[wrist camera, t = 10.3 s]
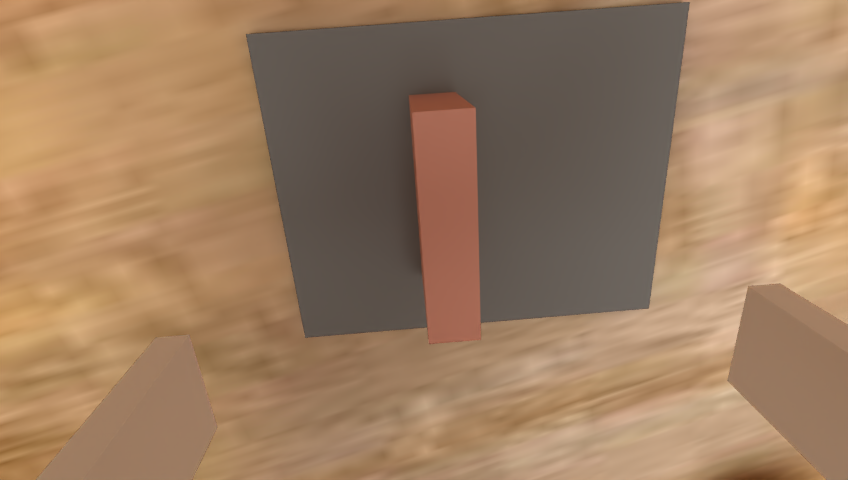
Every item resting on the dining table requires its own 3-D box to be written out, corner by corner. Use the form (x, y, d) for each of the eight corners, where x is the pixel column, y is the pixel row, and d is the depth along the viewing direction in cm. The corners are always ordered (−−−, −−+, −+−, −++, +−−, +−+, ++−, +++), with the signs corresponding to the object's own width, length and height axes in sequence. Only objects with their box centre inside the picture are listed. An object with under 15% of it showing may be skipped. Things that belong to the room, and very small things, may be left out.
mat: (307, 331, 27) (305, 337, 27) (249, 34, 21) (245, 34, 21) (643, 303, 28) (648, 308, 27) (682, 3, 22) (689, 1, 21)
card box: (421, 274, 26) (428, 344, 20) (408, 95, 22) (412, 112, 16) (461, 271, 26) (481, 339, 20) (455, 91, 22) (476, 107, 16)
